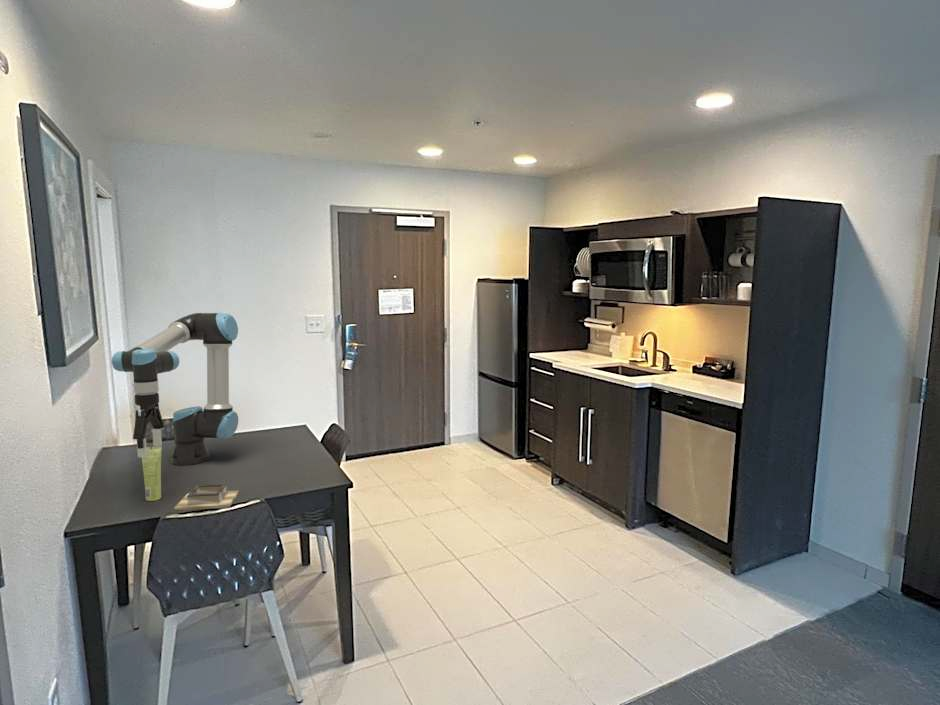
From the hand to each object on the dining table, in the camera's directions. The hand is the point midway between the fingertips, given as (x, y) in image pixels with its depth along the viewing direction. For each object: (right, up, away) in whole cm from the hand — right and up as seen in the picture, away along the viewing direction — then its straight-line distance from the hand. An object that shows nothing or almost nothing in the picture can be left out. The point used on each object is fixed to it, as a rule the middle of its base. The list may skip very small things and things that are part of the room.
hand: (150, 451), depth 208 cm
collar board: (+21, -18, +1) cm, 27 cm away
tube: (0, -18, +3) cm, 18 cm away
